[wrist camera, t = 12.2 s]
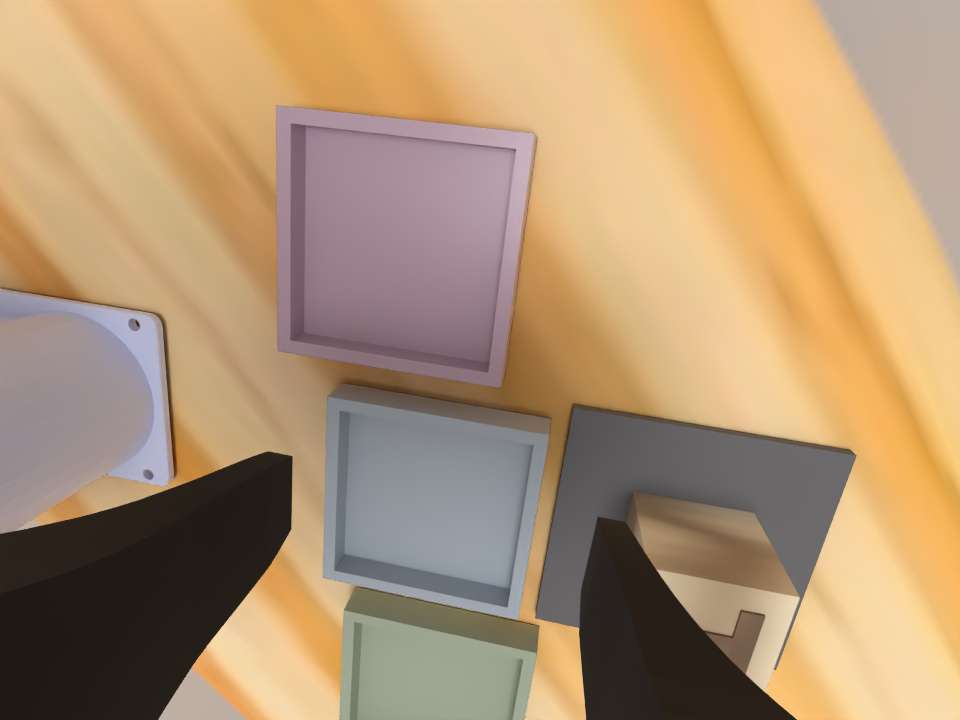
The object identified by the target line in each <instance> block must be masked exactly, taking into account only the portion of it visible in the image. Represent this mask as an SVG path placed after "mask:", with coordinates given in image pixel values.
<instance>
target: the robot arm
mask: <svg viewBox="0 0 960 720" xmlns="http://www.w3.org/2000/svg"><path fill="white" fill-rule="evenodd" d="M136 320H137V321H138V322H139V324H140V328H139V327H138V326H137V325H136V322H135V321H136ZM150 471H151V472H152V473H153V474H152V473H151V472H150ZM103 475H109V476H114V477H119V478H124V479H129V480H134V481H139V482H144V483H149V484H154V485H159V486H165V485H167V484H168V483H170V482H171V481H172V480H173V478H174V469H173V456H172V443H171V430H170V417H169V404H168V392H167V379H166V366H165V353H164V340H163V327H162V323H161V321H160V319H159V318H158V317H157V316H156V315H155V314H152V313H148V312H142V311H136V310H130V309H123V308H117V307H111V306H105V305H99V304H92V303H86V302H80V301H74V300H68V299H62V298H55V297H49V296H43V295H37V294H31V293H25V292H18V291H12V290H6V289H0V720H158V719H159V717H160V716H161V714H162V712H163V711H164V709H165V707H166V706H167V704H168V703H169V701H170V700H171V698H172V697H173V695H174V694H175V692H176V690H177V689H178V687H179V686H180V684H181V683H182V681H183V680H184V678H185V677H186V675H187V673H188V672H189V670H190V669H191V667H192V666H193V664H194V663H195V662H196V660H197V659H198V657H199V656H200V655H201V653H202V652H203V651H204V649H205V648H206V646H207V645H208V644H209V643H210V641H211V640H212V639H213V637H214V636H215V635H216V634H217V632H218V631H219V630H220V629H221V627H222V626H223V625H224V624H225V622H226V621H227V620H228V619H229V617H230V616H231V615H232V614H233V612H234V611H235V610H236V608H237V607H238V606H239V605H240V603H241V602H242V601H243V600H244V598H245V597H246V596H247V595H248V593H249V592H250V591H251V589H252V588H253V587H254V586H255V584H256V583H257V582H258V580H259V579H260V578H261V577H262V575H263V574H264V573H265V571H266V570H267V569H268V567H269V566H270V565H271V563H272V561H273V560H274V558H275V556H276V555H277V553H278V551H279V550H280V548H281V546H282V545H283V543H284V541H285V539H286V538H287V536H288V534H289V532H290V530H291V512H292V456H289V455H284V454H279V453H274V452H265V453H262V454H259V455H256V456H253V457H250V458H248V459H245V460H243V461H240V462H238V463H235V464H233V465H230V466H228V467H225V468H223V469H220V470H218V471H215V472H213V473H210V474H208V475H205V476H203V477H200V478H198V479H195V480H193V481H190V482H188V483H185V484H182V485H180V486H177V487H174V488H171V489H168V490H166V491H163V492H160V493H157V494H155V495H152V496H149V497H146V498H144V499H141V500H138V501H135V502H131V503H128V504H125V505H122V506H119V507H115V508H112V509H108V510H105V511H101V512H97V513H94V514H90V515H86V516H82V517H79V518H74V519H70V520H65V521H61V522H56V523H52V524H47V525H42V526H38V527H33V528H29V529H24V530H19V531H14V530H16V529H18V528H20V527H21V526H23V525H24V524H26V523H28V522H29V521H31V520H33V519H34V518H36V517H37V516H39V515H41V514H42V513H44V512H45V511H47V510H49V509H50V508H52V507H53V506H55V505H57V504H58V503H60V502H62V501H63V500H65V499H66V498H68V497H70V496H71V495H73V494H74V493H76V492H78V491H79V490H81V489H82V488H84V487H86V486H87V485H89V484H91V483H92V482H94V481H95V480H97V479H99V478H100V477H102V476H103ZM579 637H580V650H581V662H582V674H583V686H584V697H585V709H586V720H797V719H795V718H794V717H793V716H792V715H791V714H789V713H788V712H787V711H786V710H785V709H784V708H782V707H781V706H780V705H779V704H778V703H776V702H775V701H774V700H773V699H772V698H771V697H770V696H769V695H767V694H766V693H765V692H764V691H763V690H762V689H761V688H760V687H759V686H758V685H757V684H755V683H754V682H753V681H752V680H751V679H750V678H749V677H748V676H747V675H746V674H745V673H744V672H743V671H742V670H740V669H739V668H738V667H737V666H736V665H735V664H734V663H733V662H732V661H731V660H730V659H729V658H728V657H727V655H726V654H725V653H724V652H723V651H722V650H721V649H720V648H719V647H718V646H717V645H716V644H715V643H714V642H713V641H712V639H711V638H710V637H709V636H708V635H707V634H706V633H705V632H704V631H703V630H702V628H701V627H700V626H699V625H698V624H697V623H696V621H695V620H694V619H693V618H692V617H691V615H690V614H689V613H688V612H687V610H686V609H685V608H684V607H683V605H682V604H681V603H680V602H679V600H678V599H677V598H676V596H675V595H674V594H673V592H672V591H671V590H670V588H669V587H668V585H667V584H666V583H665V581H664V580H663V578H662V577H661V576H660V574H659V573H658V571H657V570H656V568H655V567H654V565H653V564H652V562H651V561H650V559H649V558H648V556H647V555H646V553H645V552H644V550H643V548H642V547H641V545H640V544H639V542H638V540H637V539H636V537H635V536H634V534H633V533H632V531H631V529H630V528H629V526H628V525H627V523H626V522H623V521H618V520H613V519H608V518H603V517H598V518H597V522H596V527H595V531H594V535H593V540H592V544H591V548H590V553H589V557H588V561H587V566H586V570H585V574H584V579H583V583H582V588H581V597H580V625H579Z"/></svg>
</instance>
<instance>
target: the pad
mask: <svg viewBox="0 0 960 720" xmlns="http://www.w3.org/2000/svg"><path fill="white" fill-rule="evenodd" d="M855 458H856V455H855V454H854V453H853V452H852V451H851V450H845V449H839V448H833V447H827V446H821V445H815V444H809V443H803V442H797V441H791V440H785V439H779V438H773V437H767V436H761V435H755V434H749V433H743V432H737V431H731V430H725V429H719V428H713V427H707V426H701V425H695V424H689V423H683V422H677V421H671V420H665V419H659V418H653V417H647V416H641V415H635V414H629V413H623V412H618V411H612V410H606V409H600V408H594V407H588V406H582V405H576V404H574V405H573V411H572V416H571V422H570V427H569V433H568V438H567V444H566V449H565V455H564V460H563V466H562V471H561V477H560V482H559V488H558V493H557V498H556V504H555V509H554V515H553V520H552V526H551V531H550V537H549V542H548V548H547V553H546V559H545V564H544V570H543V575H542V581H541V586H540V592H539V597H538V603H537V608H536V616H535V618H536V619H541V620H545V621H550V622H555V623H559V624H564V625H569V626H573V627H578V628H579V625H580V597H581V588H582V583H583V579H584V574H585V570H586V566H587V561H588V557H589V553H590V548H591V544H592V540H593V535H594V531H595V527H596V522H597V518H598V517H603V518H608V519H613V520H618V521H623V522H626V521H627V516H628V512H629V507H630V503H631V499H632V494H633V491H635V492H640V493H646V494H651V495H657V496H662V497H668V498H674V499H679V500H685V501H690V502H696V503H701V504H707V505H713V506H718V507H724V508H729V509H735V510H740V511H746V512H751V513H755V515H756V517H757V519H758V521H759V523H760V525H761V526H762V528H763V530H764V532H765V534H766V536H767V537H768V539H769V541H770V543H771V545H772V547H773V549H774V550H775V552H776V554H777V556H778V558H779V560H780V561H781V563H782V565H783V567H784V569H785V571H786V573H787V574H788V576H789V578H790V580H791V582H792V584H793V585H794V587H795V589H796V591H797V593H798V595H799V597H800V599H799V602H798V604H797V607H796V610H795V613H794V615H793V618H792V621H791V623H790V626H789V629H788V632H787V634H786V637H785V640H784V642H783V645H782V648H781V651H780V653H779V656H778V659H777V661H776V664H775V667H774V670H776V668H777V666H778V663H779V661H780V658H781V655H782V653H783V650H784V647H785V645H786V642H787V639H788V637H789V634H790V631H791V629H792V626H793V623H794V621H795V618H796V615H797V613H798V610H799V607H800V605H801V602H802V599H803V597H804V594H805V591H806V589H807V586H808V583H809V581H810V578H811V575H812V573H813V570H814V567H815V565H816V562H817V559H818V557H819V554H820V552H821V549H822V546H823V544H824V541H825V538H826V536H827V533H828V530H829V528H830V525H831V522H832V520H833V517H834V514H835V512H836V509H837V506H838V504H839V501H840V498H841V496H842V493H843V490H844V488H845V485H846V482H847V480H848V477H849V474H850V472H851V469H852V466H853V464H854V461H855Z"/></svg>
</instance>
